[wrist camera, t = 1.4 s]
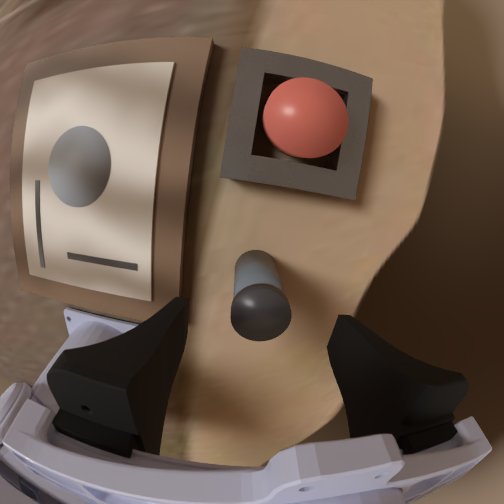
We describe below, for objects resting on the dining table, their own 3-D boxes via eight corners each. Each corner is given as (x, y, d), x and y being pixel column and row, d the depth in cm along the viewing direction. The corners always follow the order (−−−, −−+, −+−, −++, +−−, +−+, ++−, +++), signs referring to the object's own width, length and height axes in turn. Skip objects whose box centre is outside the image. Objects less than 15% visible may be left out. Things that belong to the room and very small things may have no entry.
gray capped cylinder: (272, 290, 19) (284, 343, 14) (231, 285, 19) (227, 338, 13) (280, 251, 18) (297, 294, 13) (236, 245, 18) (234, 287, 12)
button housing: (343, 195, 17) (354, 200, 15) (222, 175, 16) (220, 177, 15) (360, 85, 15) (372, 78, 13) (242, 58, 14) (242, 47, 12)
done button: (330, 164, 15) (341, 165, 13) (256, 150, 15) (258, 149, 13) (340, 96, 14) (352, 89, 12) (268, 80, 13) (271, 69, 11)
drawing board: (180, 319, 20) (177, 329, 19) (27, 284, 19) (20, 290, 17) (213, 43, 13) (211, 36, 12) (33, 66, 12) (24, 63, 11)
